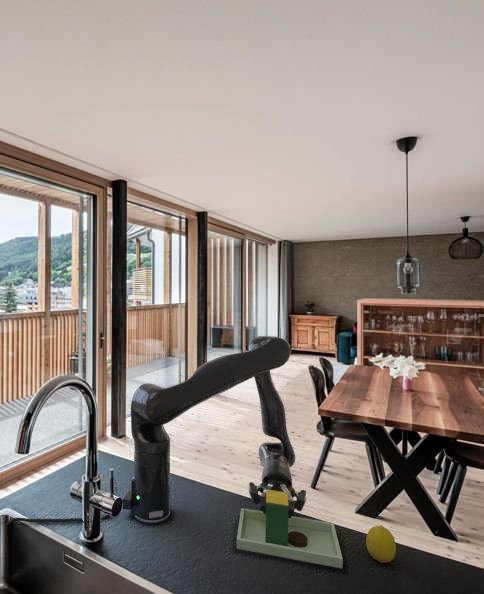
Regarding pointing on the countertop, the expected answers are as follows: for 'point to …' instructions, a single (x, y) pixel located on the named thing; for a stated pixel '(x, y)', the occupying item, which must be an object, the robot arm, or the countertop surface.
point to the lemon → (381, 544)
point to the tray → (318, 549)
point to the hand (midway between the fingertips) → (277, 512)
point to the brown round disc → (297, 539)
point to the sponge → (277, 518)
